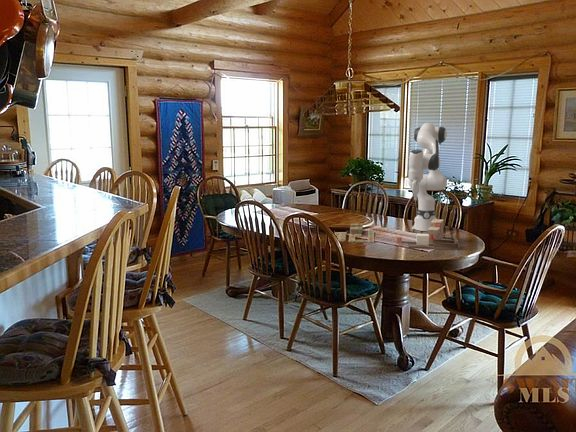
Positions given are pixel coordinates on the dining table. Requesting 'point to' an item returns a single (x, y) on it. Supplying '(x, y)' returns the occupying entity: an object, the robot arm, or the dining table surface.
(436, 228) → the stack of blocks
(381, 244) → the dining table surface
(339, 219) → the dining table surface
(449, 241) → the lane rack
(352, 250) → the dining table surface
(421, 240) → the block
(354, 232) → the pile of dominoes
